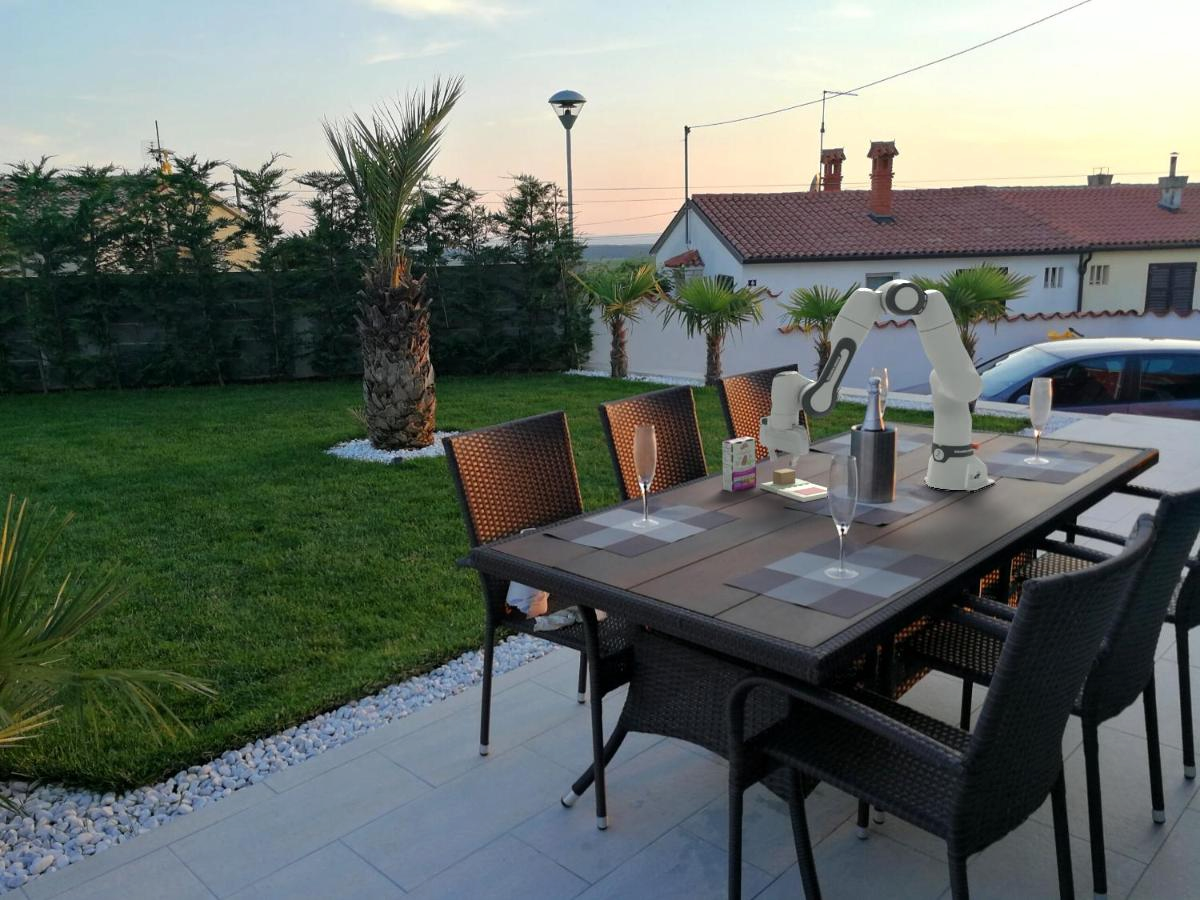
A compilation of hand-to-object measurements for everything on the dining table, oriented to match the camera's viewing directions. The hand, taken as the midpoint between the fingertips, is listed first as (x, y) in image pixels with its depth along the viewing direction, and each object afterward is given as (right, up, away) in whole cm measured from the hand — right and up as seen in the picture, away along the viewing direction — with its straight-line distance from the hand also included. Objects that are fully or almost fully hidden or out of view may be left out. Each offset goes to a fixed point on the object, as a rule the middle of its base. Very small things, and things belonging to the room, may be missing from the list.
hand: (783, 463), depth 272 cm
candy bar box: (-14, -8, +3) cm, 16 cm away
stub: (+1, -8, +1) cm, 8 cm away
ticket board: (+6, -10, -8) cm, 14 cm away
